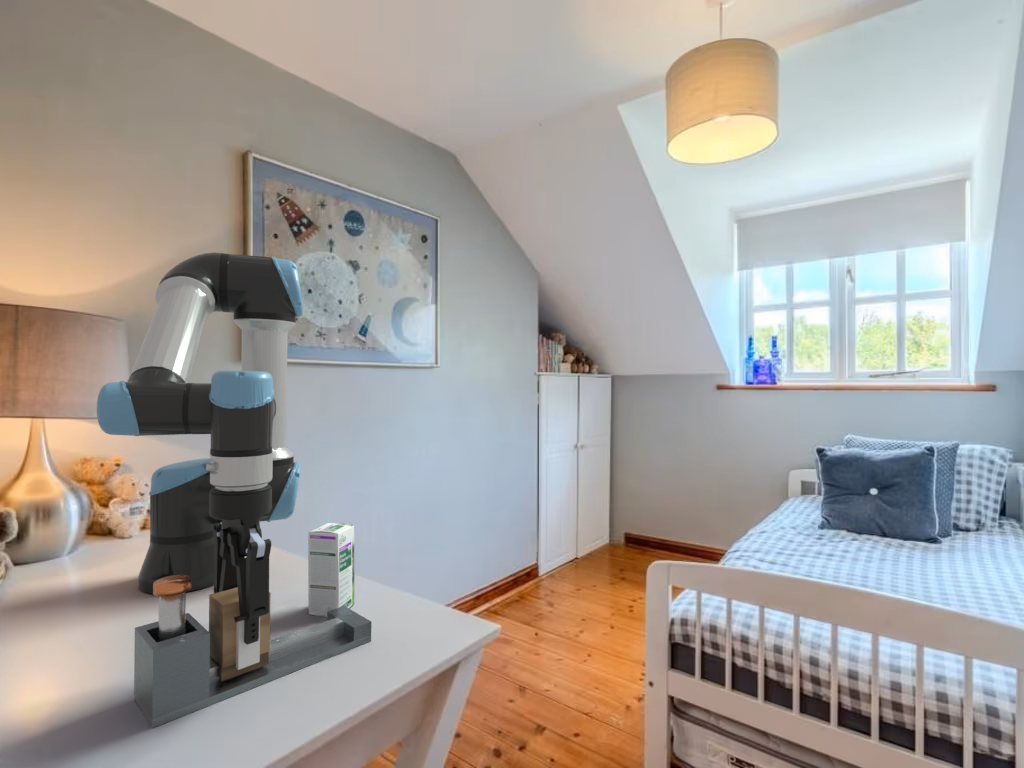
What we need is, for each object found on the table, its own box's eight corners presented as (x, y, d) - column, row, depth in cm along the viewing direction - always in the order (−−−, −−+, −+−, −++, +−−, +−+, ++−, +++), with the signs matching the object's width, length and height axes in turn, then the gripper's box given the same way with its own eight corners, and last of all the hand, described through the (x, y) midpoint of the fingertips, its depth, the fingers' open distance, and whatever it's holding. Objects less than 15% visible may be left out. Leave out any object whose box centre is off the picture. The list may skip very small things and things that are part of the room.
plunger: (148, 662, 67) (149, 580, 67) (184, 650, 70) (185, 572, 70) (157, 675, 64) (158, 589, 64) (195, 662, 67) (196, 580, 67)
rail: (134, 699, 68) (134, 627, 67) (343, 624, 89) (344, 569, 89) (152, 728, 62) (153, 650, 62) (371, 640, 83) (372, 582, 83)
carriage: (208, 667, 72) (209, 594, 72) (254, 651, 77) (255, 582, 77) (222, 682, 69) (223, 605, 69) (269, 665, 73) (270, 592, 73)
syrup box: (338, 618, 91) (339, 532, 91) (306, 615, 92) (307, 530, 92) (354, 604, 96) (356, 523, 96) (324, 601, 98) (325, 521, 97)
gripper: (188, 479, 76) (186, 643, 76) (238, 500, 64) (236, 696, 64) (243, 472, 81) (241, 625, 82) (299, 491, 69) (297, 671, 70)
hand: (239, 656), depth 73 cm, fingers closed on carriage, 5 cm apart
